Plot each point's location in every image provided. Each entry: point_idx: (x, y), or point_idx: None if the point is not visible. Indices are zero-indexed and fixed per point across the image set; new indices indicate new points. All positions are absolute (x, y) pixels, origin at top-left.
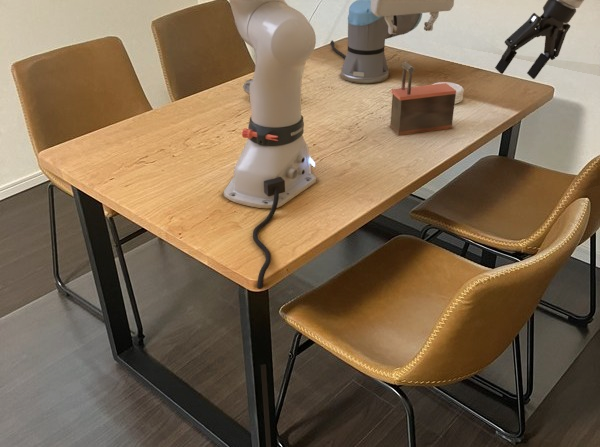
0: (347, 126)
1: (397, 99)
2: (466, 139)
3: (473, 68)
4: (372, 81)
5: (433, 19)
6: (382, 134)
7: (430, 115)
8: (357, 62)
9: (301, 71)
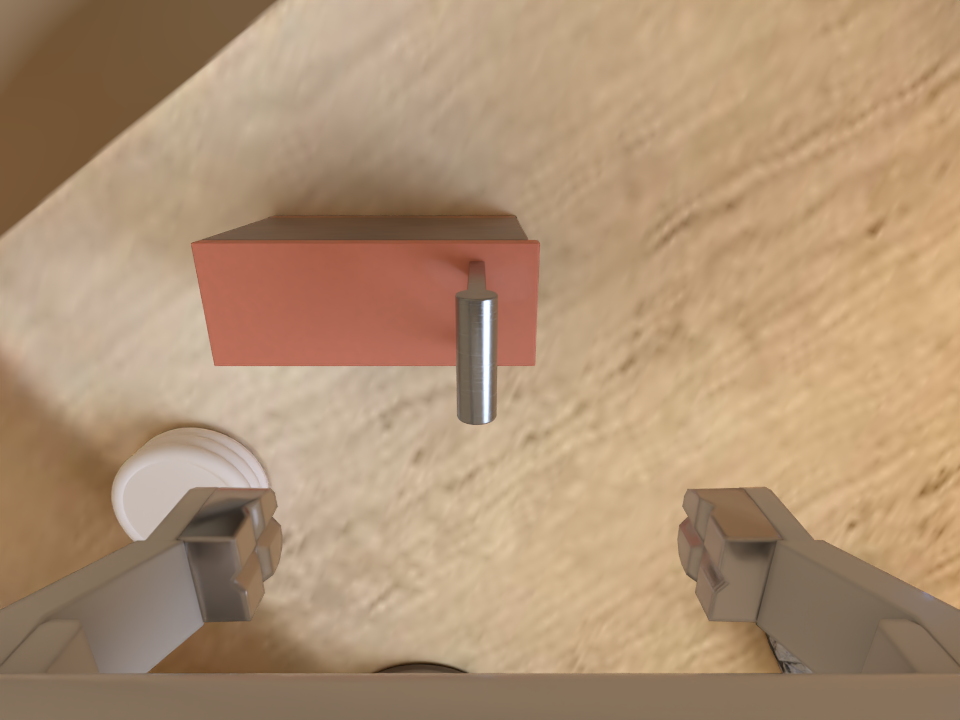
0: (670, 355)
1: None
2: (248, 83)
3: None
4: (422, 669)
5: (108, 581)
6: (575, 244)
7: (365, 225)
8: None
9: None
